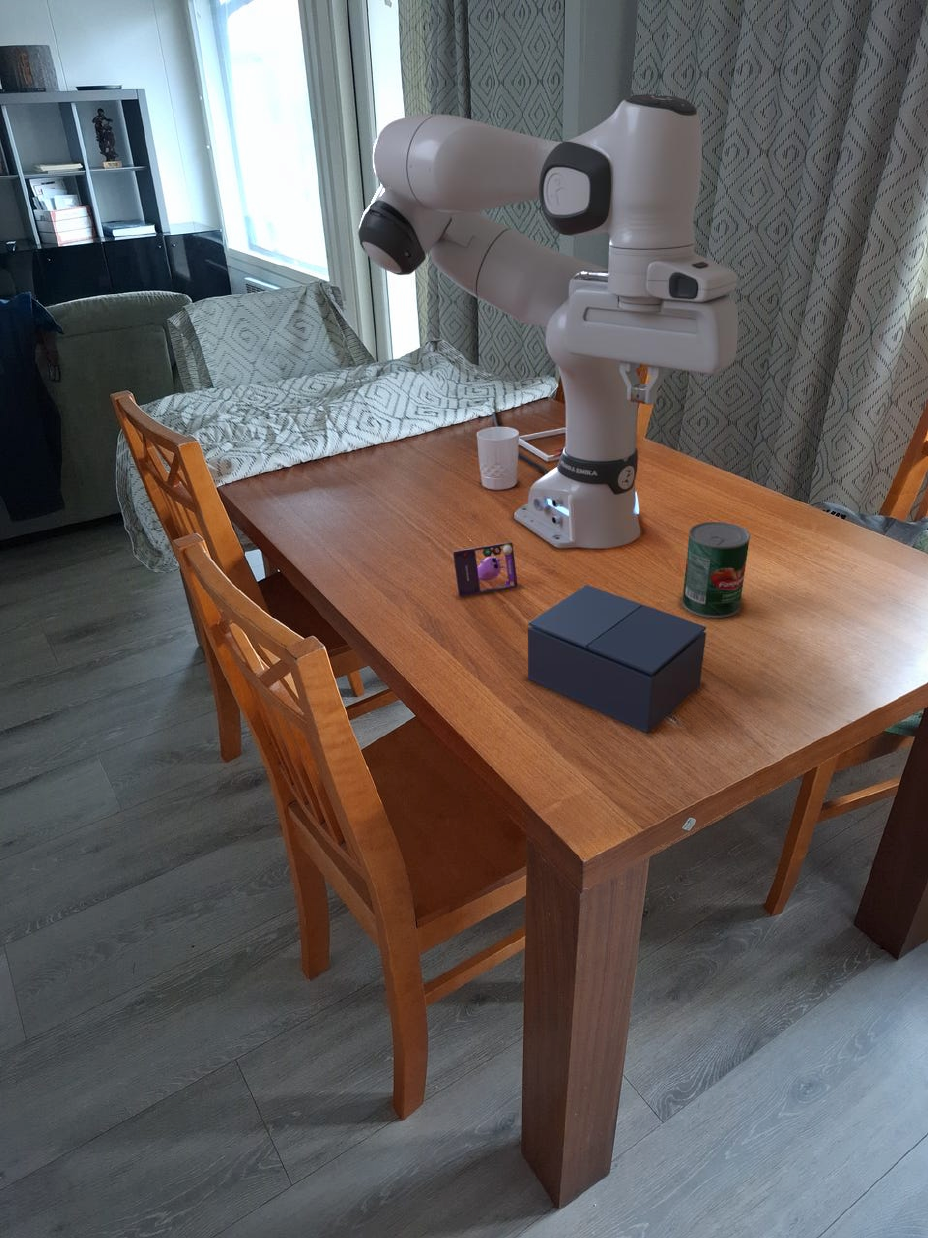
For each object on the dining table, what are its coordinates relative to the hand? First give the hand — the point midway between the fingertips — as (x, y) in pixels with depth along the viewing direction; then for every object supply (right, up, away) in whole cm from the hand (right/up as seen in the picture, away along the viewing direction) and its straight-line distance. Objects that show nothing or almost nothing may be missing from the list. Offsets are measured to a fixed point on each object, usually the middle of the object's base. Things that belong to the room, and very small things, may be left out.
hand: (641, 402), depth 95 cm
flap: (-6, -25, +4) cm, 26 cm away
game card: (-17, -20, +29) cm, 39 cm away
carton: (-2, -33, +6) cm, 33 cm away
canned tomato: (+14, -23, +21) cm, 34 cm away
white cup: (-14, +1, +64) cm, 65 cm away
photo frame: (+2, +12, +81) cm, 82 cm away
